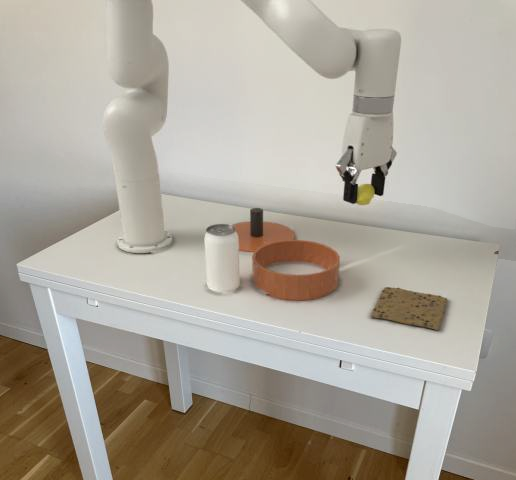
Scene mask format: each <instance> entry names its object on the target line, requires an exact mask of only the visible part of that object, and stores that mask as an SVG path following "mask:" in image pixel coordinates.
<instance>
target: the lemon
mask: <svg viewBox="0 0 516 480" xmlns="http://www.w3.org/2000/svg"><path fill="white" fill-rule="evenodd" d="M374 193H375V191H374V187H373V186H372V185H371V183H363V184H360V185H358V192H357V202H356V203H355V204H356V205H358V206H366V205H367V206H368V205H370V203H371V201H372V199H374V198H375V194H374Z"/></svg>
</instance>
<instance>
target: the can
mask: <svg viewBox="0 0 516 480" xmlns="http://www.w3.org/2000/svg"><path fill="white" fill-rule="evenodd" d="M232 225H233V224H228V223H215V224H211V225H209V226H207V227H206V229H205V231H206V232H205V235H204V239H203V241H204V256H205V259H204V260H205V273H206V274H205V275H206V286H207V288H208V289H209V290H211V291H214V292H216V293H227V292H232V291H235V290H236V289H238V288H239V287H240V284H241V283H240V282H241V281H240V276H241V275H240V251H239V238H238V234H237V232H236V228H235V227H234V226H232Z"/></svg>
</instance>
